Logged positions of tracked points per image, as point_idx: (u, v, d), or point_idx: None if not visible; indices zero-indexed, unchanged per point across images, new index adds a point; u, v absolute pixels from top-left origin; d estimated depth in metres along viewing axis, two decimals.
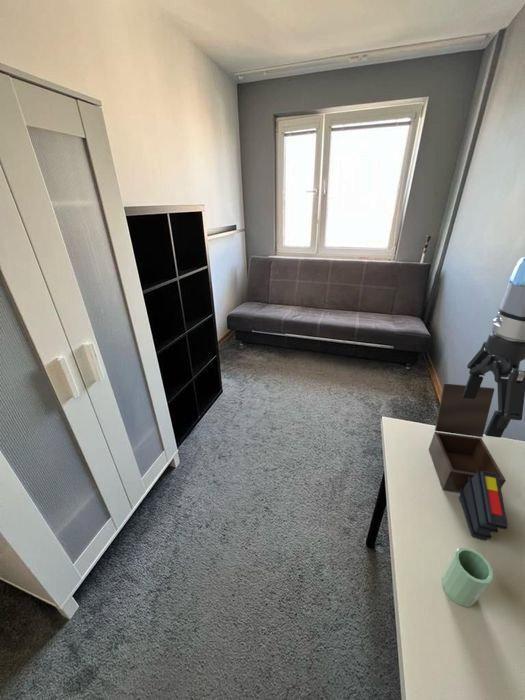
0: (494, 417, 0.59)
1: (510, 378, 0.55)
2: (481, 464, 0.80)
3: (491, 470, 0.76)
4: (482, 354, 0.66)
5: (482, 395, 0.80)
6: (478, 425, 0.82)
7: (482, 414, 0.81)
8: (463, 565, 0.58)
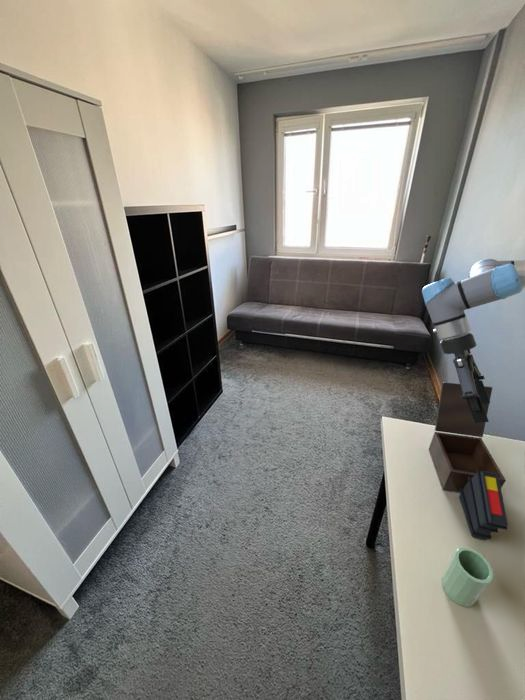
0: None
1: (455, 366, 0.70)
2: (481, 464, 0.80)
3: (491, 470, 0.76)
4: None
5: None
6: (478, 424, 0.82)
7: None
8: (463, 565, 0.58)
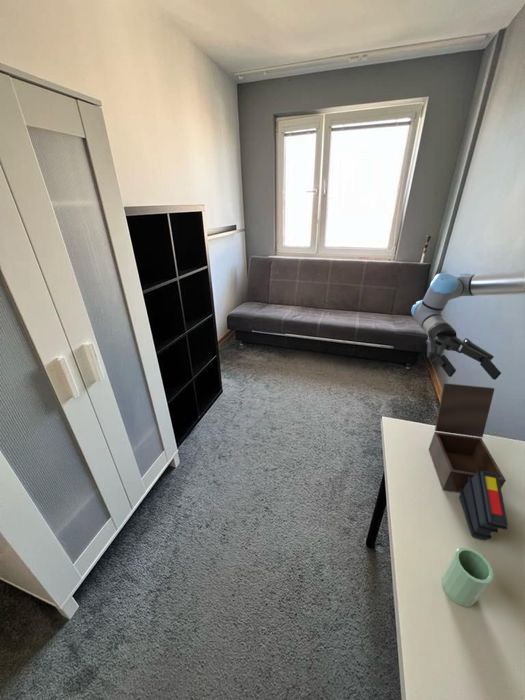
0: None
1: None
2: (481, 464, 0.80)
3: (491, 470, 0.76)
4: None
5: (482, 395, 0.80)
6: (478, 425, 0.82)
7: (482, 414, 0.81)
8: (463, 565, 0.58)
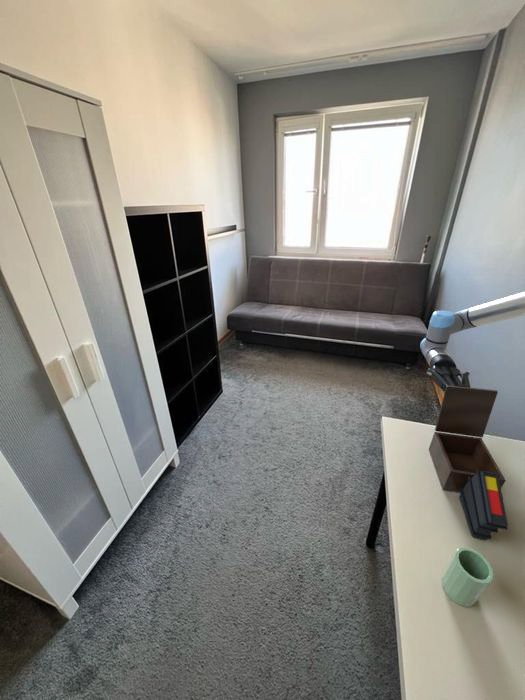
0: None
1: None
2: (481, 464, 0.80)
3: (491, 470, 0.76)
4: (462, 380, 0.93)
5: (485, 398, 0.78)
6: (479, 426, 0.82)
7: (483, 416, 0.80)
8: (463, 565, 0.58)
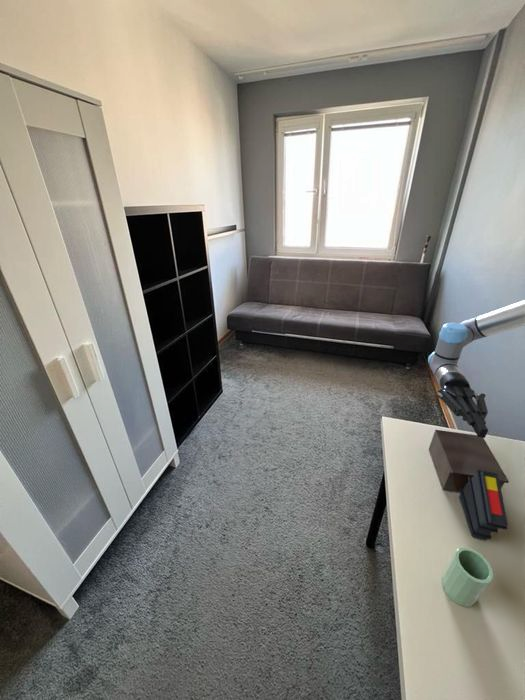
0: None
1: None
2: None
3: None
4: (477, 403, 0.83)
5: None
6: None
7: None
8: (463, 565, 0.58)
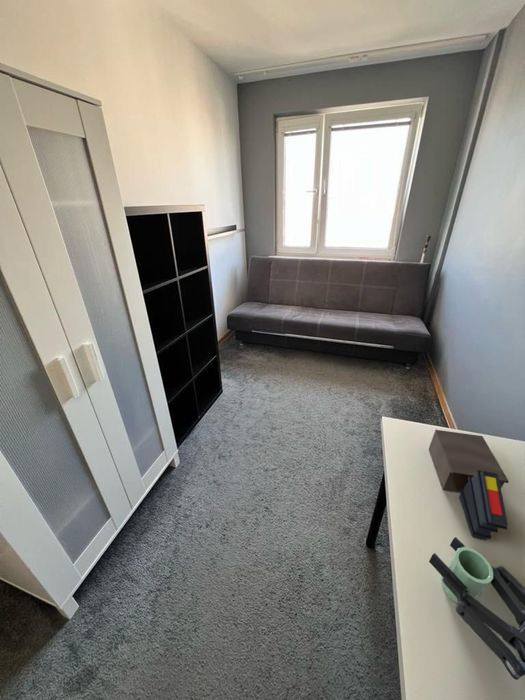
0: None
1: None
2: None
3: None
4: None
5: None
6: None
7: None
8: (463, 565, 0.58)
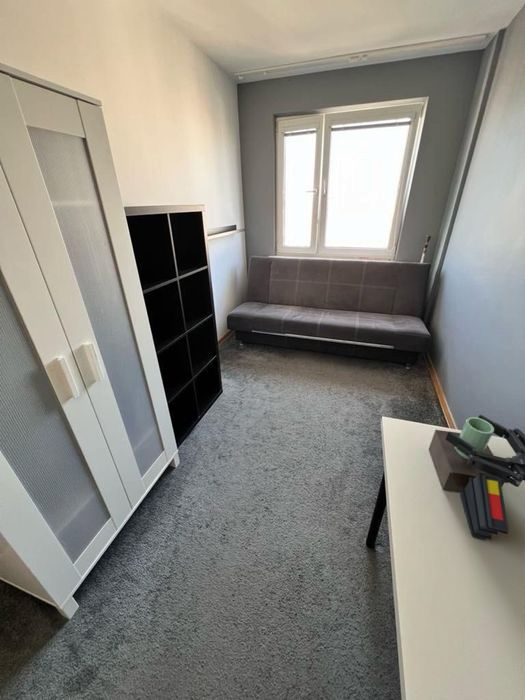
0: None
1: None
2: None
3: None
4: None
5: None
6: None
7: None
8: None
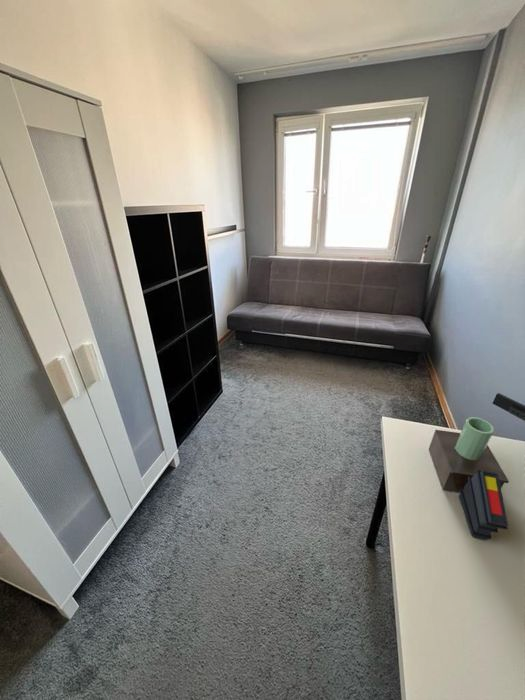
0: None
1: None
2: None
3: None
4: None
5: None
6: None
7: None
8: None
